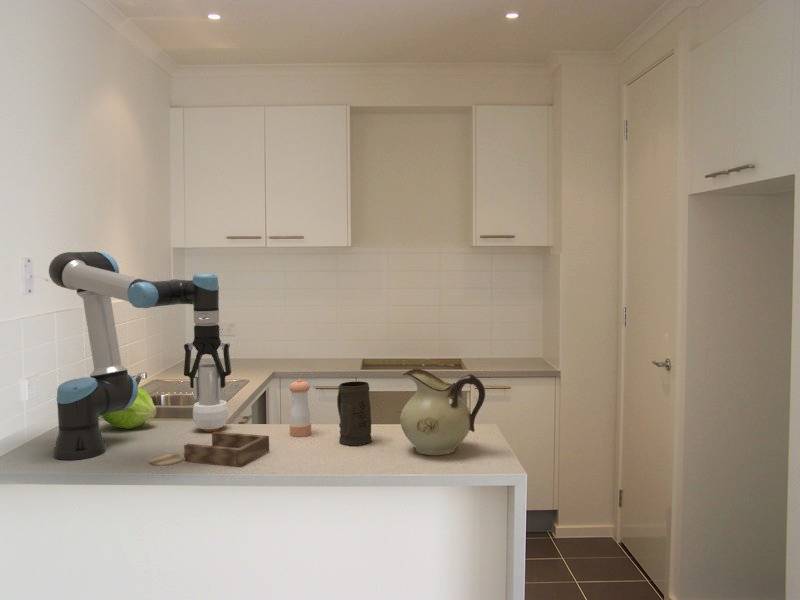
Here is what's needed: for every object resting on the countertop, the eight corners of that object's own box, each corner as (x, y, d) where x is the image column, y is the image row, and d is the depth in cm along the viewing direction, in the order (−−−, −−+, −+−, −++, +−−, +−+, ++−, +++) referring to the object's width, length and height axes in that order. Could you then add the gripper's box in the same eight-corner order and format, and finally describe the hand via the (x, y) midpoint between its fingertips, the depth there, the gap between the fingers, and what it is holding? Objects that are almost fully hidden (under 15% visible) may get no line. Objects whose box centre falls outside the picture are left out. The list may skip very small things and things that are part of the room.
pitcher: (389, 445, 226) (388, 369, 224) (454, 437, 235) (453, 363, 233) (418, 464, 205) (417, 380, 204) (488, 454, 215) (487, 374, 213)
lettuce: (137, 440, 245) (135, 400, 242) (91, 430, 252) (89, 391, 249) (167, 424, 261) (166, 385, 257) (124, 415, 267) (122, 377, 264)
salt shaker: (297, 438, 237) (296, 382, 236) (286, 434, 242) (284, 379, 241) (315, 434, 242) (314, 379, 240) (303, 430, 247) (302, 376, 246)
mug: (197, 401, 220) (197, 364, 219) (219, 400, 222) (219, 363, 221) (199, 408, 210) (199, 369, 209) (222, 407, 212) (222, 368, 211)
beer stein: (380, 441, 231) (376, 381, 231) (356, 448, 223) (352, 386, 223) (348, 436, 241) (344, 379, 241) (325, 443, 234) (321, 383, 233)
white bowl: (236, 427, 253) (235, 401, 252) (212, 435, 242) (211, 408, 241) (210, 424, 258) (209, 398, 258) (185, 432, 247) (184, 405, 247)
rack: (184, 461, 212) (184, 445, 212) (215, 446, 228) (215, 431, 227) (241, 466, 206) (241, 450, 205) (269, 451, 222) (268, 435, 221)
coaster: (142, 463, 210) (142, 462, 210) (163, 454, 220) (163, 452, 220) (170, 466, 207) (170, 464, 207) (190, 457, 216) (190, 455, 216)
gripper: (170, 325, 210) (172, 401, 212) (236, 325, 211) (237, 400, 213) (177, 323, 217) (179, 395, 219) (240, 322, 218) (242, 395, 220)
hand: (208, 398), depth 216 cm, fingers closed on mug, 7 cm apart
